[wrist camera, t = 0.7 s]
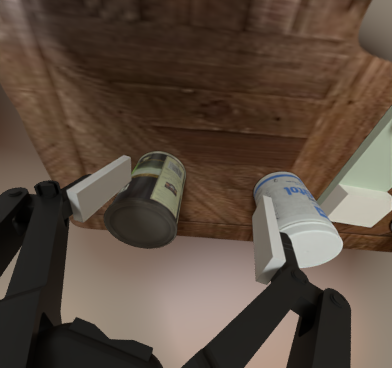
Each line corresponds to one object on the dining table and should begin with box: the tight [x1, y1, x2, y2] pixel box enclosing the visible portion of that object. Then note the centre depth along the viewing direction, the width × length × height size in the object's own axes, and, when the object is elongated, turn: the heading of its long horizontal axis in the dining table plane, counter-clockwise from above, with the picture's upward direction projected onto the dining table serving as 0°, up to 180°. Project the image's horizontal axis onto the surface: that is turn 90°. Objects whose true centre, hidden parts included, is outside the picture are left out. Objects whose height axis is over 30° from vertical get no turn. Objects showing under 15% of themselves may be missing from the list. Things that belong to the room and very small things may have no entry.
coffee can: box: [104, 151, 186, 249], centre depth 30 cm, size 10×10×14 cm
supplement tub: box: [254, 172, 343, 268], centre depth 31 cm, size 10×10×15 cm
